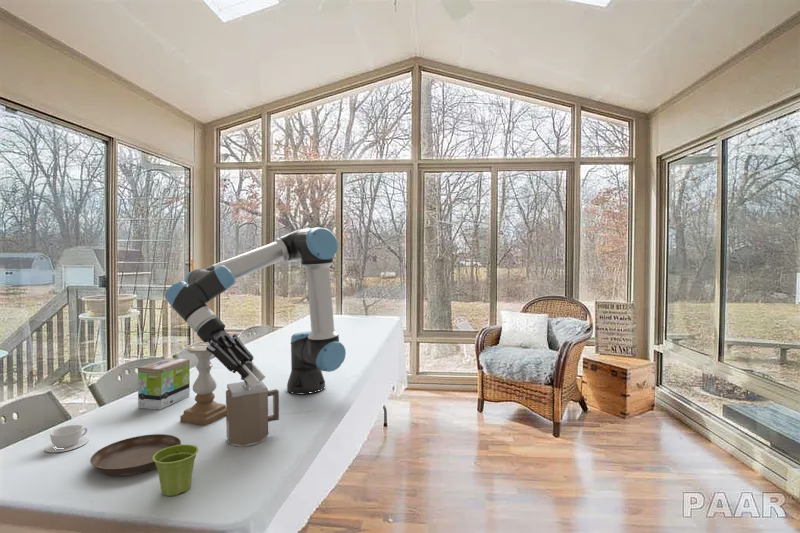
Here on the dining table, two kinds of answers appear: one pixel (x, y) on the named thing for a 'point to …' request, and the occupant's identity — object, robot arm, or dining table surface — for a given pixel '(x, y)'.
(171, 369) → the tea box
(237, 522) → the dining table surface
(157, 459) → the plant pot
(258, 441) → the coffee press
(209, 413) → the candle holder
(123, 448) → the plant saucer
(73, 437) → the teacup
